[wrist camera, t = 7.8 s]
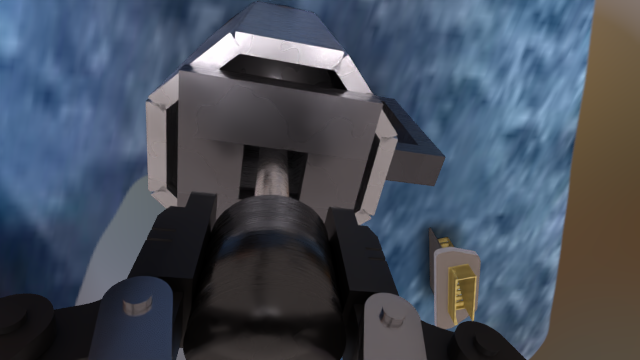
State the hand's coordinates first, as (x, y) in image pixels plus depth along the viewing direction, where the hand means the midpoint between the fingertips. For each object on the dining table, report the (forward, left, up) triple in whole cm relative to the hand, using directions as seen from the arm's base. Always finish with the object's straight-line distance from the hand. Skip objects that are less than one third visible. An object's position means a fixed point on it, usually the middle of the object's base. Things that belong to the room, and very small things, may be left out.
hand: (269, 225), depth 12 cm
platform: (+15, +19, -19) cm, 30 cm away
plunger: (0, 0, -14) cm, 14 cm away
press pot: (0, +2, -18) cm, 18 cm away
